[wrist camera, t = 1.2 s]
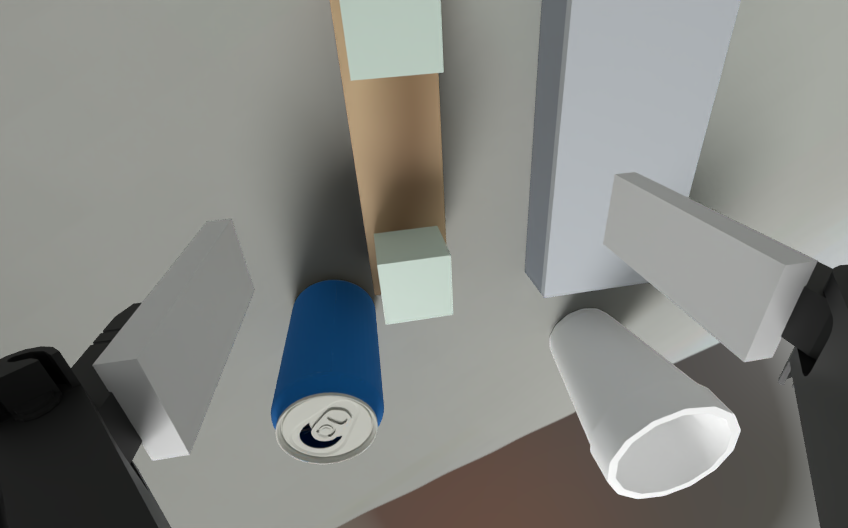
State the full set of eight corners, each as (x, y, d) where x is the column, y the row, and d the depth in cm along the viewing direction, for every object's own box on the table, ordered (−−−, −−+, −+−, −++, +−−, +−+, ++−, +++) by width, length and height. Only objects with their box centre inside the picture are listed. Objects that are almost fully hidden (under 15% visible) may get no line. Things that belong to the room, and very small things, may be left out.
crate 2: (381, 288, 27) (385, 324, 24) (373, 233, 25) (377, 265, 22) (440, 279, 28) (453, 314, 24) (437, 225, 26) (450, 255, 22)
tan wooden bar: (371, 260, 32) (374, 295, 27) (329, -22, 23) (324, -36, 18) (435, 251, 32) (448, 285, 28) (418, -28, 23) (433, -42, 19)
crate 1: (351, 73, 21) (350, 80, 17) (337, -23, 19) (334, -36, 15) (428, 66, 21) (443, 72, 18) (423, -28, 19) (439, -42, 16)
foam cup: (639, 339, 40) (750, 455, 29) (558, 386, 42) (633, 514, 31) (606, 275, 36) (722, 383, 25) (516, 330, 37) (587, 456, 26)
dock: (524, 271, 34) (544, 297, 31) (545, -57, 24) (579, -73, 20) (635, 256, 35) (666, 279, 32) (704, -66, 25) (763, -83, 21)
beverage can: (278, 318, 33) (244, 448, 23) (322, 260, 31) (308, 372, 21) (346, 351, 36) (343, 480, 25) (390, 299, 34) (408, 415, 23)
